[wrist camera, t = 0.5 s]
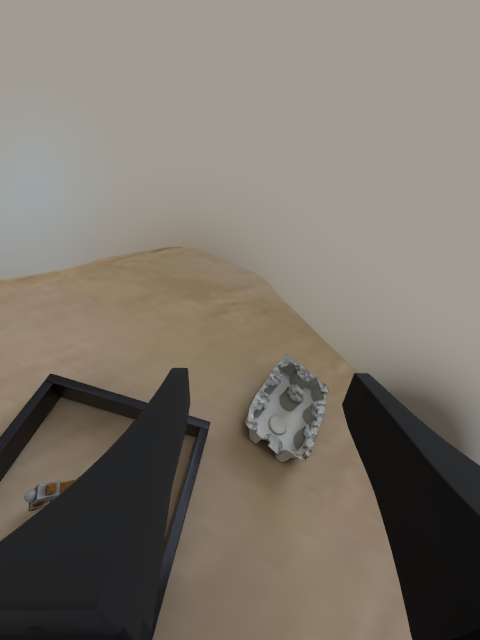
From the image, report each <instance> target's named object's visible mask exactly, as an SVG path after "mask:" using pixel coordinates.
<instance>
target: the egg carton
mask: <svg viewBox="0 0 480 640" xmlns="http://www.w3.org/2000/svg"><path fill="white" fill-rule="evenodd" d="M327 392H328V385H326V384H322V383H320V382H319V381H318V380H317V376H315V375H312V374H310V373H309V371H308V370H306V369H304V368H303V367H302V366H301V365H300V364H296V363H295V362H294V361H293V360H292V359H291V358H290V357H289V356H288V355H287V354H286V355H285V356H284V357H283V358H282V359H281V360H280V361H279V362H278V364H277V365H276V366H275V368H274V369H273V371H272V372H271V373H270V376H269V377H268V378H267V380H266V381H265V383H264V384H263V386H262V387H261V389H260V390H259V392H258V393H257V394H256V396H255V398H254V400H253V402H252V404H251V406H250V409H249V414H248V417H247V418H246V420H245V424H246V425H247V427H248V429H249V438H250V439H251V440H252V441H253V442H254V443H255V444H257V443H258V442H259V441H260V440H267V441H269V443H268V446H269V447H270V448H271V449H272V450H273V451H275V457H276V459H278V460H279V461H280V462H282V463H283V462H285V461H286V460H288V459H290V458H297V457H298V458H300V459H302V460H304V461H306V458H308V457H309V455H310V452H311V451H312V448H313V445H314V443H315V440H316V437H317V435H316V434H317V431H318V429H319V427H320V423H321V420H322V417H323V415H324V413H325V401H326V397H325V396H326V393H327Z"/></svg>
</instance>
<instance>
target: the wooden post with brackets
mask: <svg viewBox="0 0 480 640" xmlns="http://www.w3.org/2000/svg"><path fill="white" fill-rule="evenodd" d="M75 481H76V480H72V481H67V482H62V483H60V480H59V481H57V482H52V483H47V484H38V485H37V486H36V487H35V489H32V490H29V491H28V492H27V493H26V494H25V497H24V498H25V500H26V501H28V502H29V511H33V510H36V509H38V508H40V507H41V506H43V504H45V503H47V502H48V500H50V502H52V501H53V500H54V499H55V498H56V497H57V496H59V495H60V494H61V493H62V492H63V491H64V490H65V489H67V488H68V487H69V486H70V485H71V484H72V483H74V482H75ZM46 500H47V501H46ZM45 501H46V502H45Z"/></svg>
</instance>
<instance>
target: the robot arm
mask: <svg viewBox="0 0 480 640" xmlns="http://www.w3.org/2000/svg"><path fill="white" fill-rule="evenodd" d="M189 406H190V392H189V378H188V368H172V369H171V370H170V372H169V374H168V375H167V377H166V379H165V380H164V382H163V383H162V385H161V386H160V388H159V389H158V391H157V392H156V393H155V395H154V396H153V398H152V399H151V400H150V402H149V403H148V404H147V406H146V407H145V408H144V410H143V411H142V412H141V413H140V415H139V416H138V417H137V418H136V419H135V421H134V422H133V423H132V424H131V425H130V427H129V428H128V429H127V430H126V431H125V432H124V434H123V435H122V436H121V437H120V438H119V439H118V440H117V441H116V442H115V443H114V444H113V445H112V446H111V447H110V449H109V450H108V451H107V452H106V453H105V454H104V455H103V456H102V457H100V458H99V459H98V460H97V461H96V462H95V463H94V464H93V465H92V466H91V467H90V468H89V469H88V470H87V471H86V472H85V473H84V474H83V475H82V476H80V477H79V478H78V479H77V480H76V481H75V482H74V483H72V484H71V485H70V486H69V487H68V488H67V489H65V490H64V491H63V492H62V493H61V494H60V495H59V496H57V497H56V498H55V499H54V500H53V501H52V502H50V503H49V504H48V505H47V506H45V507H44V508H43V509H42V510H40V511H39V512H38V513H37V514H35V515H34V516H33V517H31V518H30V519H29V520H27V521H26V522H25V523H24V524H22V525H21V526H20V527H18V528H17V529H16V530H15V531H13V532H12V533H11V534H9V535H8V536H7V537H5V538H4V539H3V540H2V541H0V640H146V639H147V638H148V637H149V635H150V634H151V633H152V626H153V618H154V610H155V602H156V594H157V586H158V579H159V571H160V564H161V557H162V550H163V543H164V536H165V529H166V522H167V516H168V509H169V503H170V496H171V490H172V485H173V480H174V476H175V472H176V468H177V463H178V459H179V455H180V451H181V447H182V443H183V439H184V435H185V431H186V426H187V421H188V414H189ZM342 406H343V410H344V414H345V418H346V421H347V425H348V428H349V431H350V433H351V436H352V438H353V441H354V443H355V446H356V448H357V450H358V453H359V455H360V458H361V460H362V462H363V465H364V467H365V470H366V472H367V474H368V477H369V479H370V482H371V485H372V487H373V490H374V493H375V496H376V499H377V502H378V506H379V509H380V512H381V515H382V518H383V522H384V525H385V529H386V532H387V536H388V540H389V543H390V547H391V550H392V554H393V558H394V562H395V566H396V570H397V574H398V578H399V582H400V586H401V591H402V595H403V599H404V604H405V608H406V613H407V617H408V622H409V627H410V632H411V636H412V639H413V640H480V466H479V465H478V464H477V463H475V462H474V461H472V460H471V459H469V458H468V457H467V456H465V455H464V454H463V453H461V452H460V451H458V450H457V449H456V448H454V447H453V446H452V445H450V444H449V443H448V442H446V441H445V440H444V439H443V438H441V437H440V436H439V435H438V434H436V433H435V432H434V431H433V430H431V429H430V428H429V427H428V426H426V425H425V424H424V423H423V422H422V421H421V420H420V419H418V418H417V417H416V416H415V415H413V413H411V412H410V411H409V410H408V409H407V408H406V407H405V406H404V405H402V404H401V403H400V402H399V401H398V400H397V399H396V398H395V397H394V396H393V395H391V394H390V393H389V392H388V391H387V390H386V389H385V388H384V387H383V386H382V385H381V384H379V383H378V382H377V381H376V380H375V379H374V378H373V377H372V376H371V375H369V374H368V373H354V376H353V378H352V381H351V383H350V386H349V388H348V391H347V393H346V396H345V398H344V401H343V404H342Z"/></svg>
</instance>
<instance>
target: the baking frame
mask: <svg viewBox="0 0 480 640" xmlns="http://www.w3.org/2000/svg"><path fill="white" fill-rule="evenodd" d="M60 396H61V397H64V398H67V399H71V400H74V401H77V402H81V403H84V404H87V405H91V406H94V407H97V408H101V409H104V410H107V411H111V412H114V413H117V414H121V415H124V416H127V417H131V418H134V419H136V418H137V417H138V416H139V415H140V413H141V412H142V411H143V410H144V408H145V407H146V406H147V404H148V403H146V402H143V401H139V400H136V399H133V398H130V397H126V396H123V395H120V394H116V393H113V392H110V391H107V390H103V389H100V388H97V387H93V386H90V385H87V384H84V383H80V382H77V381H74V380H70V379H67V378H64V377H61V376H57V375H54V374H50V375H49V376H48V377H47V379H46V380H45V381H44V382H43V384H42V385H41V386H40V388H39V389H38V390H37V391H36V393H35V394H34V395H33V396H32V398H31V399H30V400H29V401H28V403H27V404H26V405H25V407H24V408H23V409H22V410H21V412H20V413H19V414H18V415H17V417H16V418H15V419H14V420H13V422H12V423H11V424H10V425H9V427H8V428H7V429H6V431H5V432H4V433H3V434H2V436H1V437H0V481H1V479H2V478H3V477H4V475H5V474H6V472H7V471H8V470H9V468H10V467H11V465H12V464H13V463H14V461H15V460H16V458H17V457H18V456H19V454H20V453H21V451H22V450H23V449H24V447H25V446H26V444H27V443H28V441H29V440H30V439H31V437H32V436H33V434H34V433H35V432H36V430H37V429H38V427H39V426H40V425H41V423H42V422H43V420H44V419H45V418H46V416H47V415H48V413H49V412H50V411H51V409H52V408H53V406H54V405H55V403H56V402H57V401H58V399H59V398H60ZM209 426H210V422H208V421H205V420H202V419H199V418H195V417H192V416H189V415H188V421H187V426H186V431H185V434H188V435H191V436H194V437H196V438H195V441H194V445H193V448H192V452H191V455H190V458H189V462H188V465H187V468H186V472H185V475H184V479H183V482H182V485H181V489H180V492H179V495H178V499H177V502H176V506H175V509H174V512H173V516H172V519H171V523H170V526H169V529H168V533H167V536H166V539H165V543H164V546H163V550H162V557H161V564H160V571H159V579H158V586H157V594H156V602H155V610H154V618H153V626H152V633H151V634H150V635H149V637H148V638H147V639H146V640H152V638H153V635H154V631H155V627H156V623H157V620H158V616H159V612H160V608H161V605H162V601H163V597H164V594H165V590H166V586H167V582H168V579H169V575H170V571H171V567H172V564H173V560H174V556H175V553H176V549H177V545H178V541H179V538H180V534H181V530H182V527H183V523H184V519H185V515H186V512H187V508H188V504H189V500H190V497H191V493H192V489H193V486H194V482H195V478H196V474H197V471H198V467H199V463H200V459H201V456H202V452H203V448H204V445H205V441H206V437H207V433H208V430H209Z"/></svg>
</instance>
